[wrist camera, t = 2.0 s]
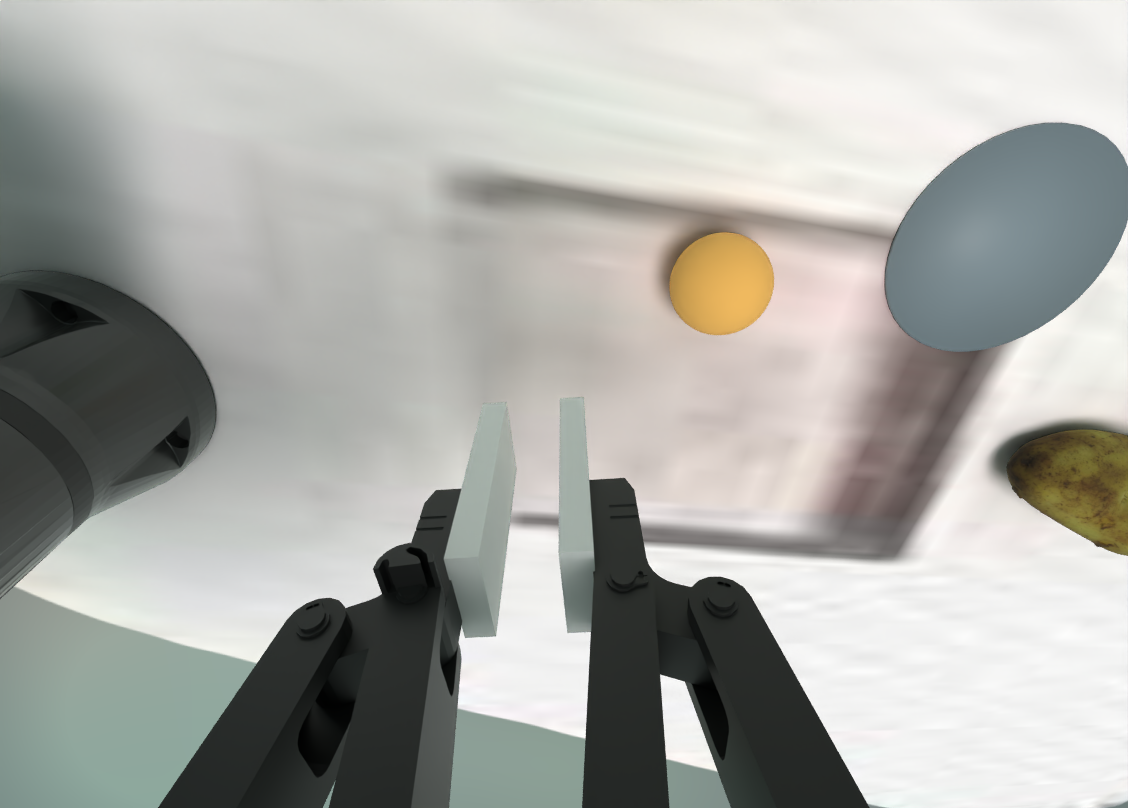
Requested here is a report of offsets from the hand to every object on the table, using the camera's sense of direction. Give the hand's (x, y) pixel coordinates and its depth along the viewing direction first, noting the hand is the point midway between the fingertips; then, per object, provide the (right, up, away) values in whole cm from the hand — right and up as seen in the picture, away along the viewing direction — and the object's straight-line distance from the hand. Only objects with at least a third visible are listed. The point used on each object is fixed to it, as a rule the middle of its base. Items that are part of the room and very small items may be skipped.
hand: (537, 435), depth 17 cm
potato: (+39, -3, +21) cm, 44 cm away
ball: (+10, +8, +11) cm, 17 cm away
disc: (+26, +10, +13) cm, 31 cm away
